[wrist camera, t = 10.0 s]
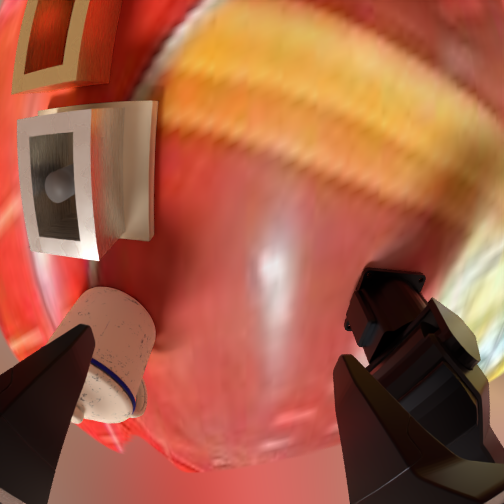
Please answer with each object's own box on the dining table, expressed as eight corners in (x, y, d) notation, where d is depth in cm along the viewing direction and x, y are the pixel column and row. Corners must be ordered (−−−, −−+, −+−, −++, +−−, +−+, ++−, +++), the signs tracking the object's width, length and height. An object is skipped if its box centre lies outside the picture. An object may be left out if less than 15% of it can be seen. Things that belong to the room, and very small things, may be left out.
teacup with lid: (61, 295, 25) (2, 377, 14) (127, 270, 23) (63, 374, 13) (123, 375, 30) (94, 458, 19) (189, 365, 28) (170, 465, 18)
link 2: (56, 113, 16) (17, 119, 12) (124, 107, 16) (91, 109, 12) (62, 225, 20) (30, 250, 16) (125, 231, 20) (98, 261, 16)
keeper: (158, 101, 17) (128, 99, 12) (154, 234, 22) (130, 268, 17) (46, 110, 17) (3, 116, 12) (52, 224, 21) (18, 251, 17)
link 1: (64, -5, 12) (33, -18, 8) (128, -21, 12) (102, -43, 8) (47, 92, 16) (11, 94, 12) (109, 83, 16) (75, 80, 12)
